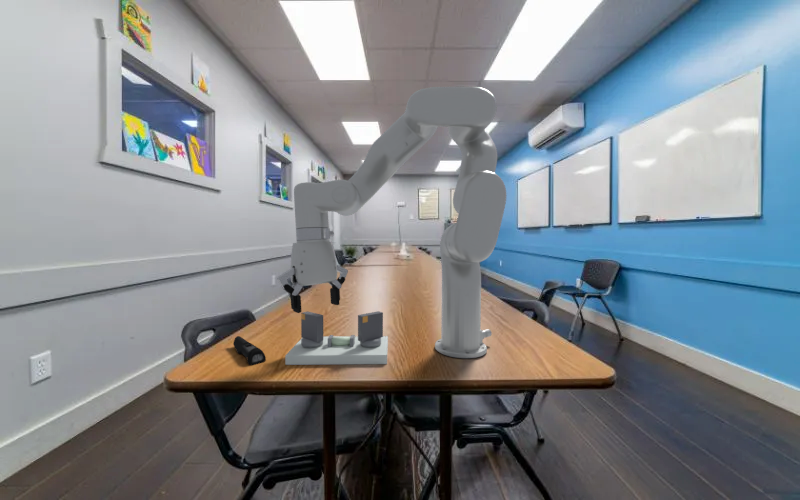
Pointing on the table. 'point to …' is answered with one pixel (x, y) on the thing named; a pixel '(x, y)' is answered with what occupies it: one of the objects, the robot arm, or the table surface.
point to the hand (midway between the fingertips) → (317, 308)
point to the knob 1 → (311, 329)
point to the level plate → (338, 352)
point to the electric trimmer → (249, 351)
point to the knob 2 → (370, 329)
